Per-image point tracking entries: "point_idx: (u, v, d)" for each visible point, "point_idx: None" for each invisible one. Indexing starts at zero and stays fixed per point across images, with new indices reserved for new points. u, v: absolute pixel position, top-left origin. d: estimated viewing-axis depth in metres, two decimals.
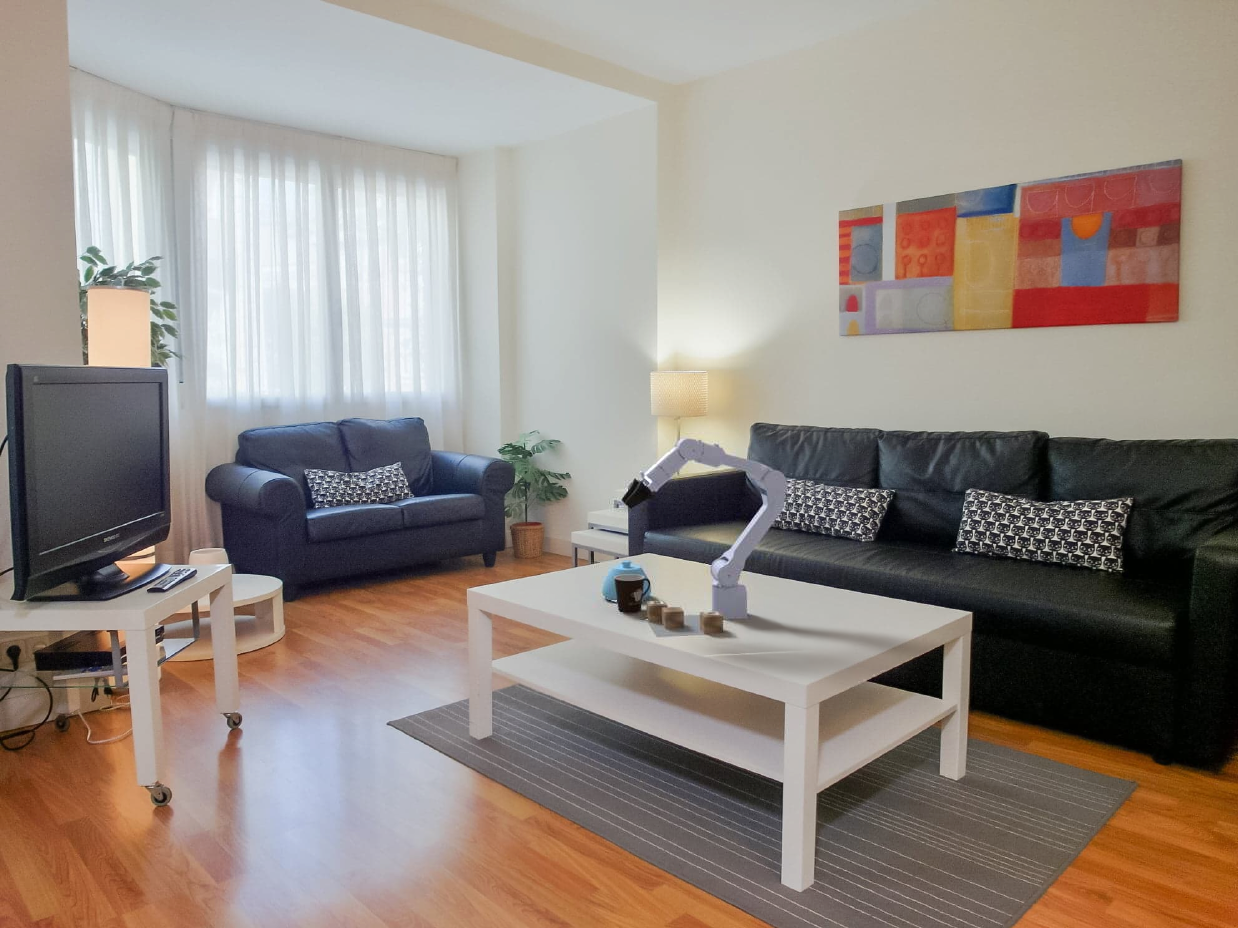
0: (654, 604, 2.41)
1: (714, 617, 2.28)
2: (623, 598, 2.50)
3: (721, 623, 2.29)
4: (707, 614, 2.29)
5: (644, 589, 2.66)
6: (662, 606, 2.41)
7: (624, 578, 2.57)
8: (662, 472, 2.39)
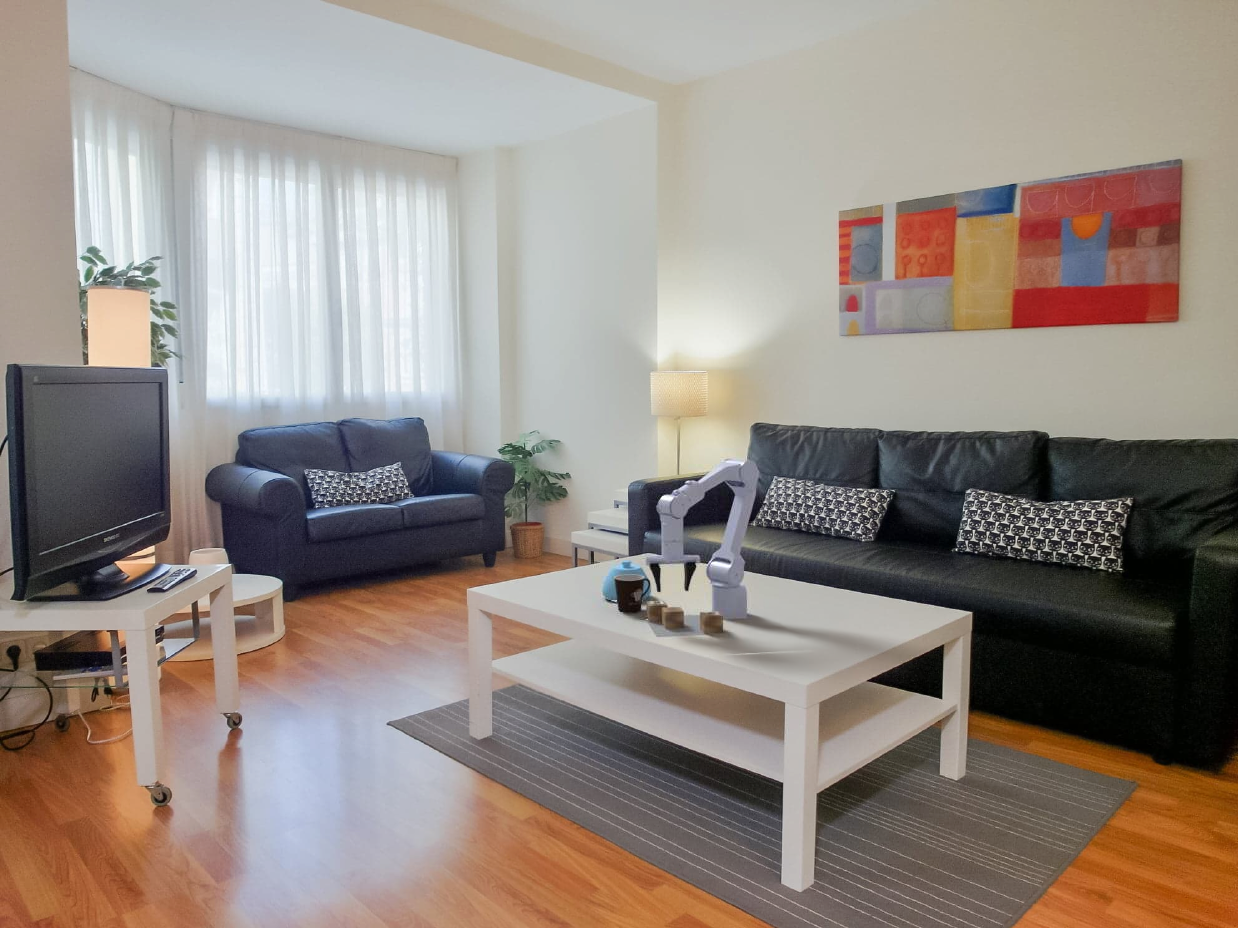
0: (654, 604, 2.41)
1: (714, 617, 2.28)
2: (623, 598, 2.50)
3: (721, 623, 2.29)
4: (707, 614, 2.29)
5: (644, 589, 2.66)
6: (662, 606, 2.41)
7: (624, 578, 2.57)
8: None
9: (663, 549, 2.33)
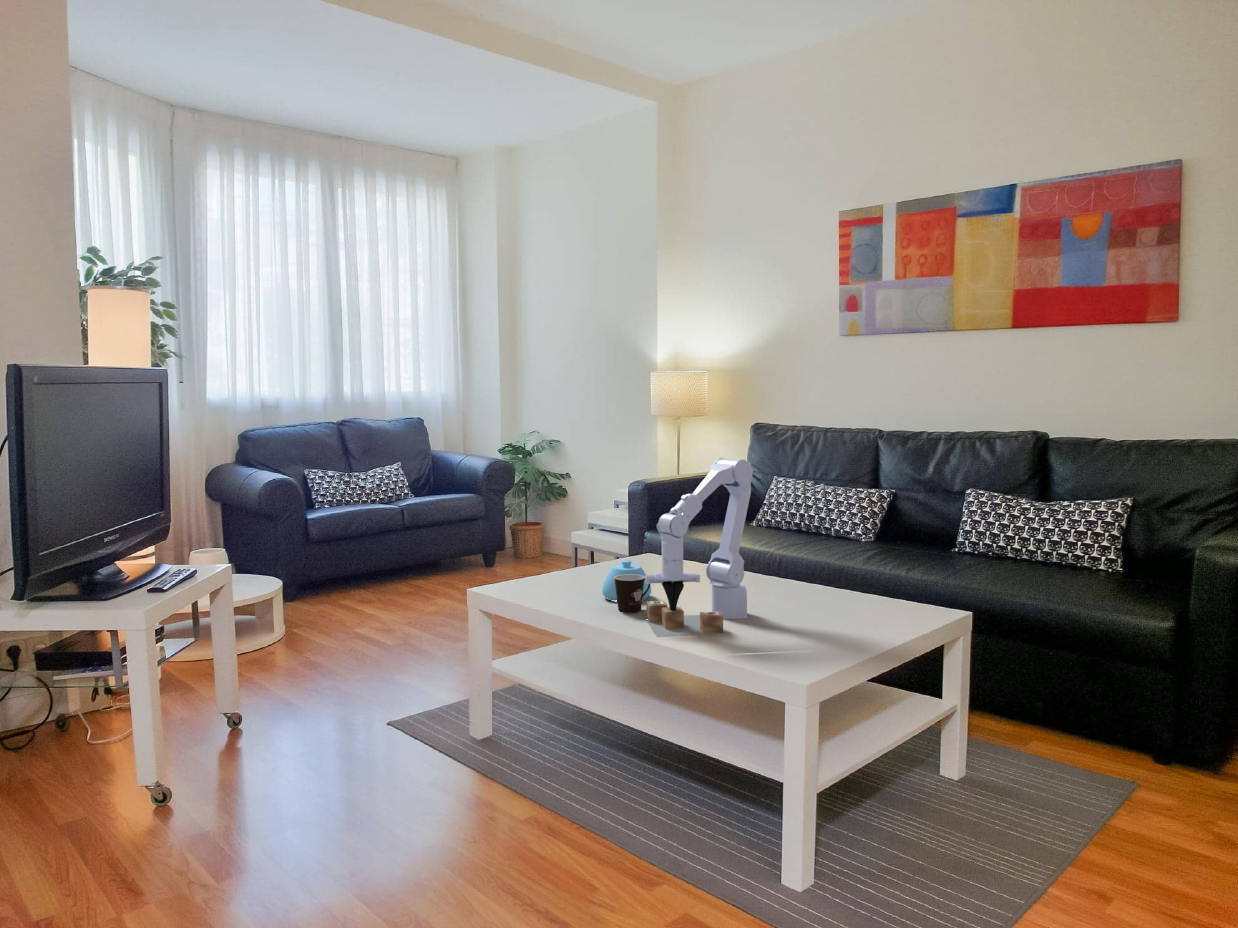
0: (654, 604, 2.41)
1: (714, 617, 2.28)
2: (623, 598, 2.50)
3: (721, 623, 2.29)
4: (707, 614, 2.29)
5: (644, 589, 2.66)
6: (662, 606, 2.41)
7: (624, 578, 2.57)
8: None
9: (663, 568, 2.34)
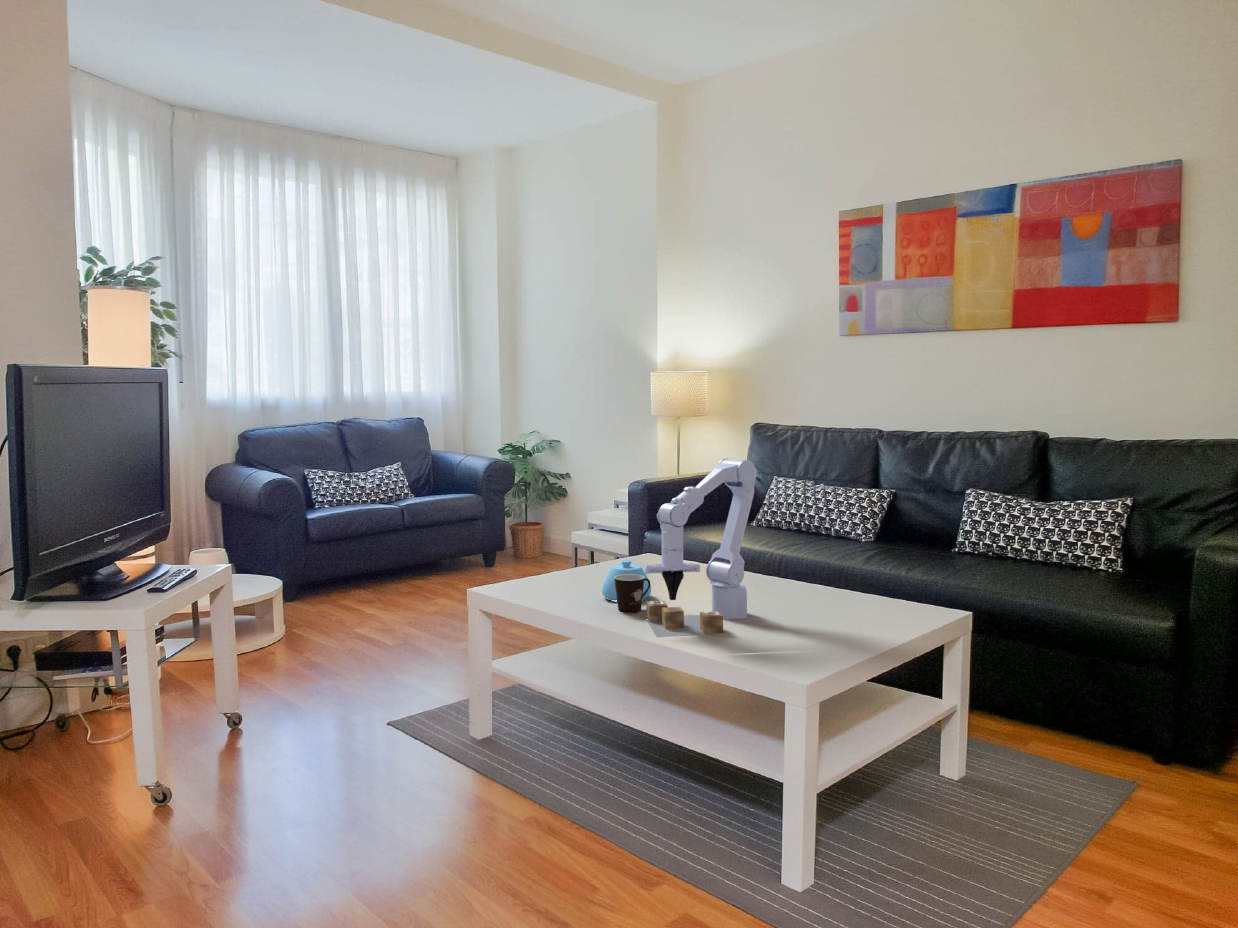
0: (654, 604, 2.41)
1: (714, 617, 2.28)
2: (623, 598, 2.50)
3: (721, 623, 2.29)
4: (707, 614, 2.29)
5: (644, 589, 2.66)
6: (662, 606, 2.41)
7: (624, 578, 2.57)
8: None
9: (663, 557, 2.33)
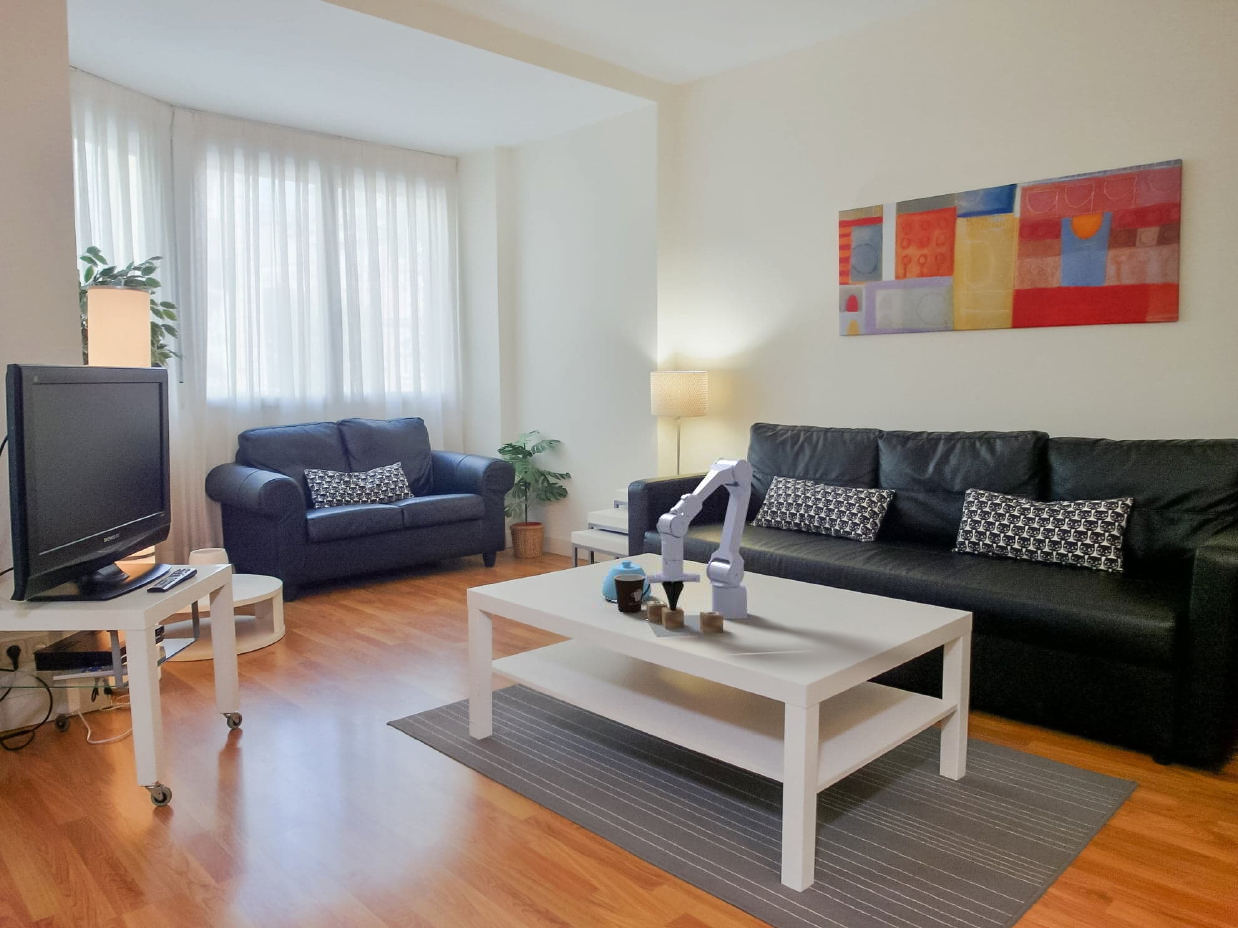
0: (654, 604, 2.41)
1: (714, 617, 2.28)
2: (623, 598, 2.50)
3: (721, 623, 2.29)
4: (707, 614, 2.29)
5: (644, 589, 2.66)
6: (662, 606, 2.41)
7: (624, 578, 2.57)
8: None
9: (663, 568, 2.34)
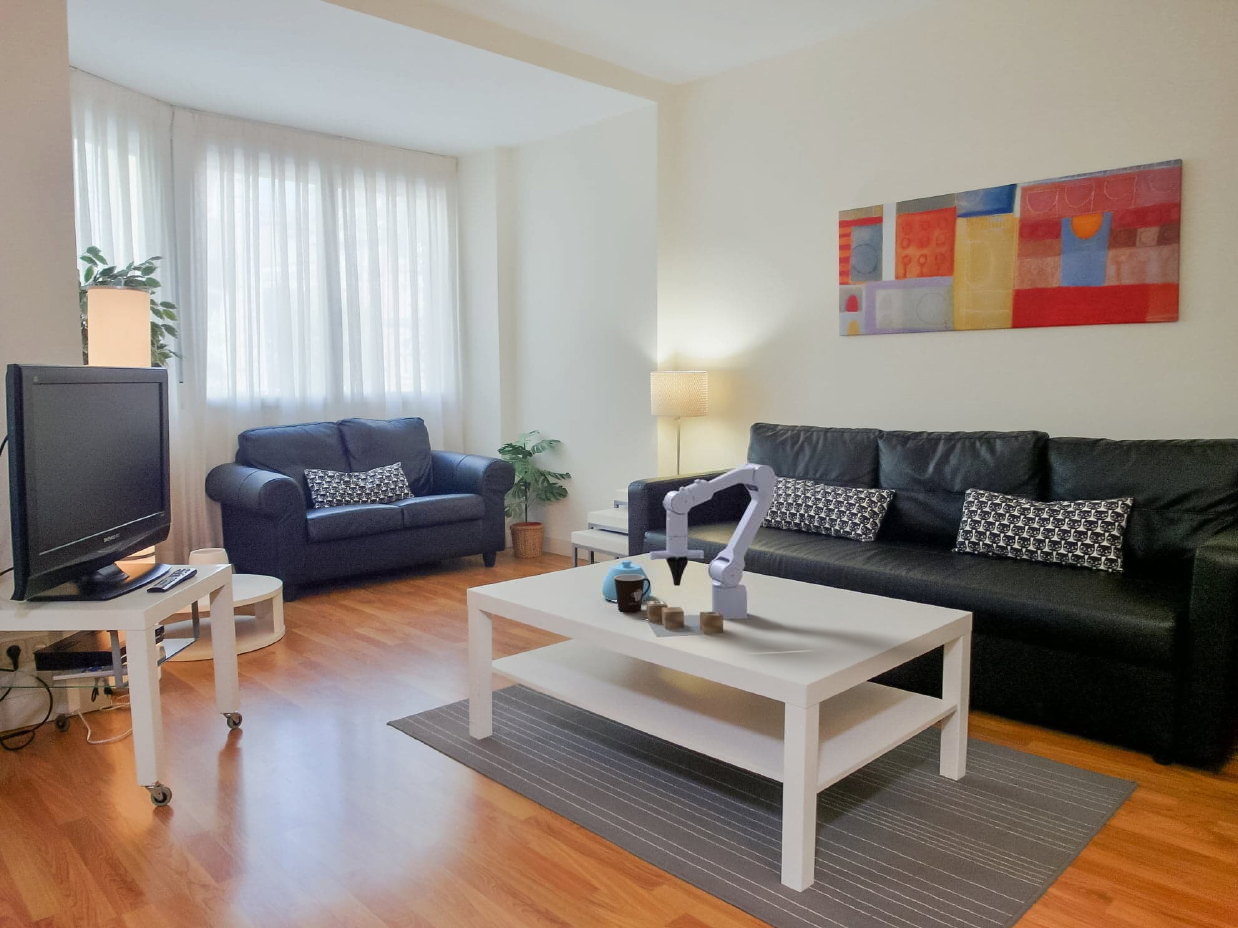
0: (654, 604, 2.41)
1: (714, 617, 2.28)
2: (623, 598, 2.50)
3: (721, 623, 2.29)
4: (707, 614, 2.29)
5: (644, 589, 2.66)
6: (662, 606, 2.41)
7: (624, 578, 2.57)
8: None
9: (668, 544, 2.39)
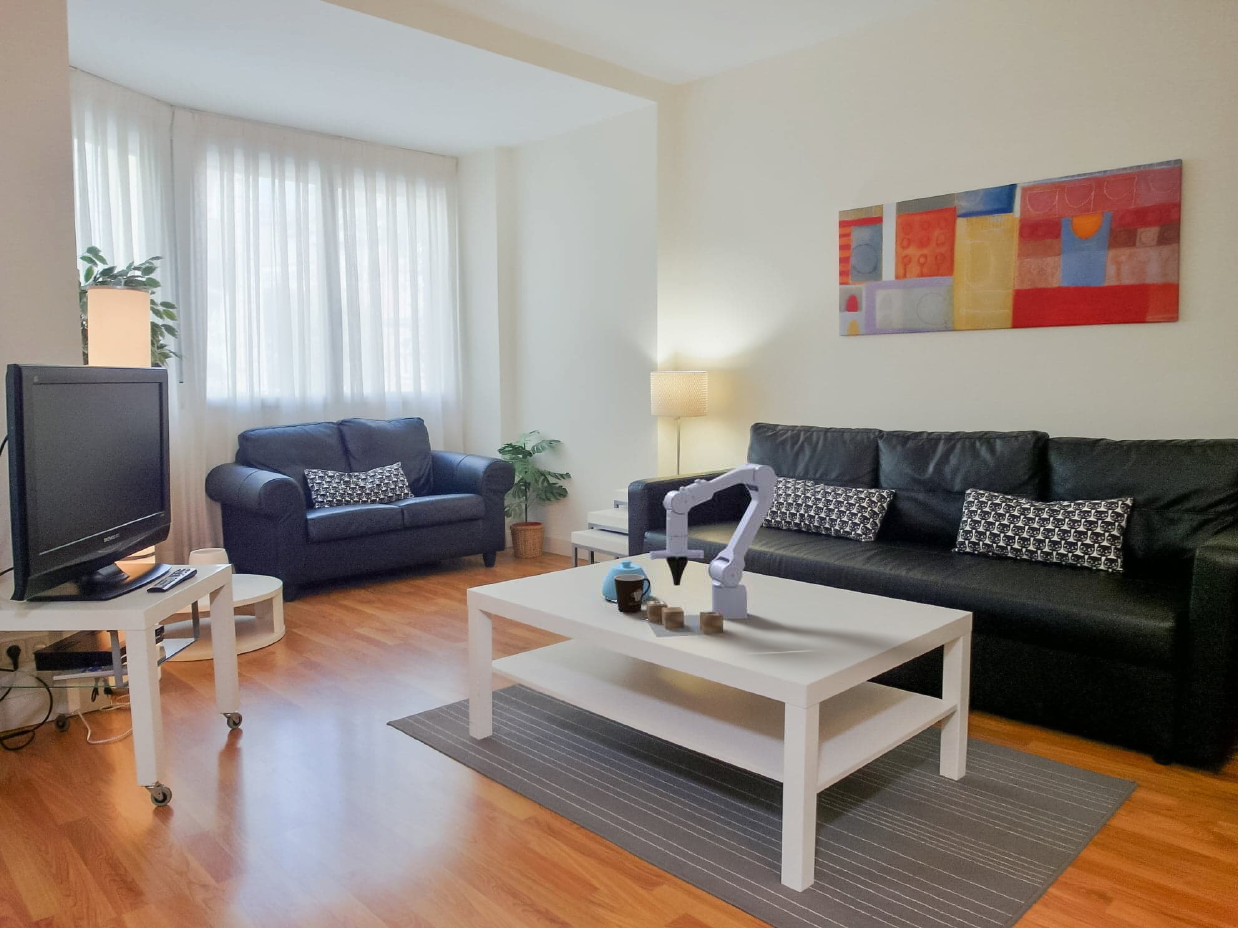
0: (654, 604, 2.41)
1: (714, 617, 2.28)
2: (623, 598, 2.50)
3: (721, 623, 2.29)
4: (707, 614, 2.29)
5: (644, 589, 2.66)
6: (662, 606, 2.41)
7: (624, 578, 2.57)
8: None
9: (668, 544, 2.39)
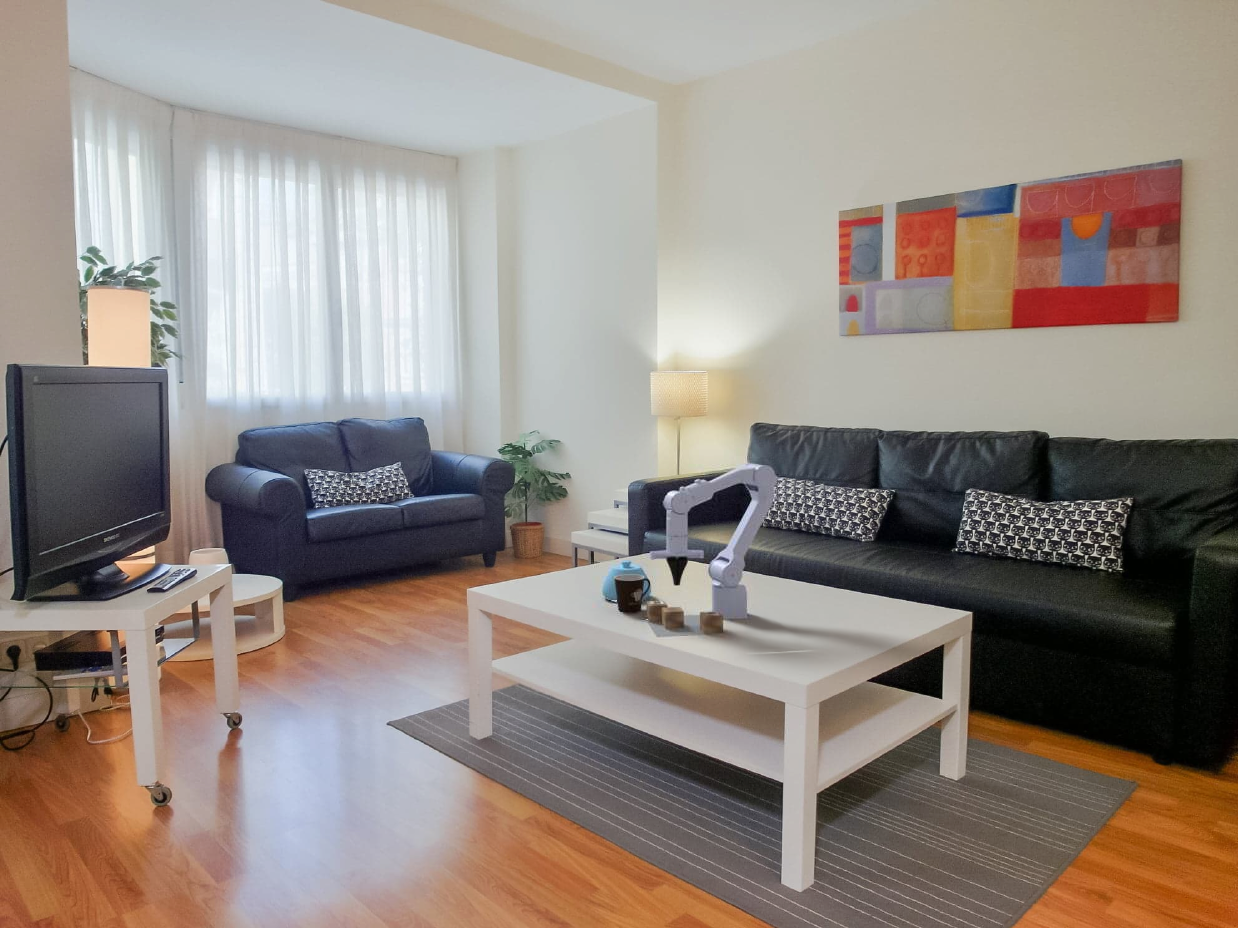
0: (654, 604, 2.41)
1: (714, 617, 2.28)
2: (623, 598, 2.50)
3: (721, 623, 2.29)
4: (707, 614, 2.29)
5: (644, 589, 2.66)
6: (662, 606, 2.41)
7: (624, 578, 2.57)
8: None
9: (668, 544, 2.39)
